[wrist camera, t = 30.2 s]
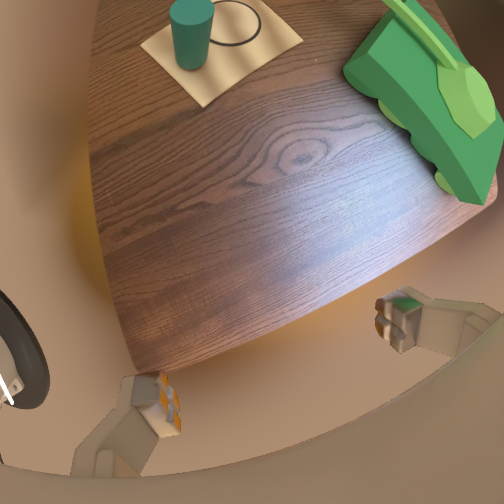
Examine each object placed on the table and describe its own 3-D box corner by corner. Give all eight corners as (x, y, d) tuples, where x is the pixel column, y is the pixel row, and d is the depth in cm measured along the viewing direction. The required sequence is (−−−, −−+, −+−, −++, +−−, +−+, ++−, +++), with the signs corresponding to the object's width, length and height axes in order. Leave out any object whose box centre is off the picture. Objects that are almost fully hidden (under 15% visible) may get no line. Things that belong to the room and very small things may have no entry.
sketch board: (203, 109, 28) (203, 107, 27) (140, 46, 24) (139, 44, 23) (302, 42, 27) (304, 40, 27) (241, -13, 24) (242, -16, 23)
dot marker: (188, 78, 26) (187, 32, 16) (169, 59, 25) (160, 9, 14) (213, 60, 26) (224, 10, 15) (194, 42, 25) (196, -11, 14)
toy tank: (380, -53, 14) (521, 127, 24) (340, -15, 25) (472, 128, 36) (322, -12, 15) (502, 209, 26) (282, 38, 27) (444, 198, 37)
